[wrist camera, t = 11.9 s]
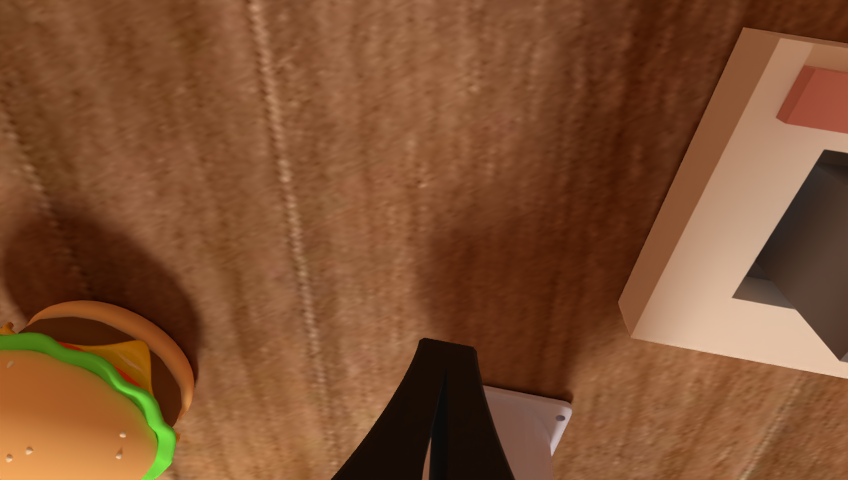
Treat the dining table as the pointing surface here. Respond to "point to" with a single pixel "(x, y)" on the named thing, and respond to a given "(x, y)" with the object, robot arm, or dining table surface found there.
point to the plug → (815, 255)
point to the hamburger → (90, 395)
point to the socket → (743, 206)
